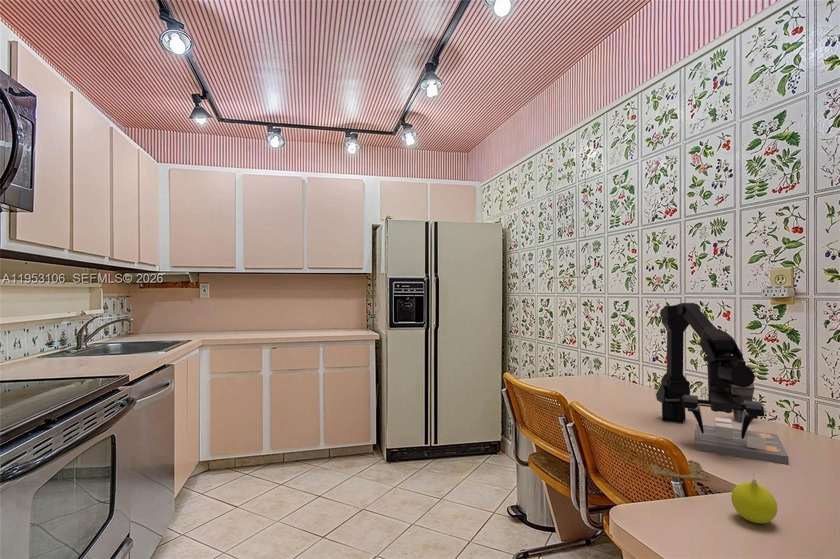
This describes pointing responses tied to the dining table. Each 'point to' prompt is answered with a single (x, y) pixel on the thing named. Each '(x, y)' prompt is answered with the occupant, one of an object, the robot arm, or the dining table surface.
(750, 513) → the ornament
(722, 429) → the slider middle
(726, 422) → the slider far
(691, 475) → the speckled tan slab
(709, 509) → the dining table surface
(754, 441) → the slider near
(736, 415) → the beverage cup
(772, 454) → the switch panel
